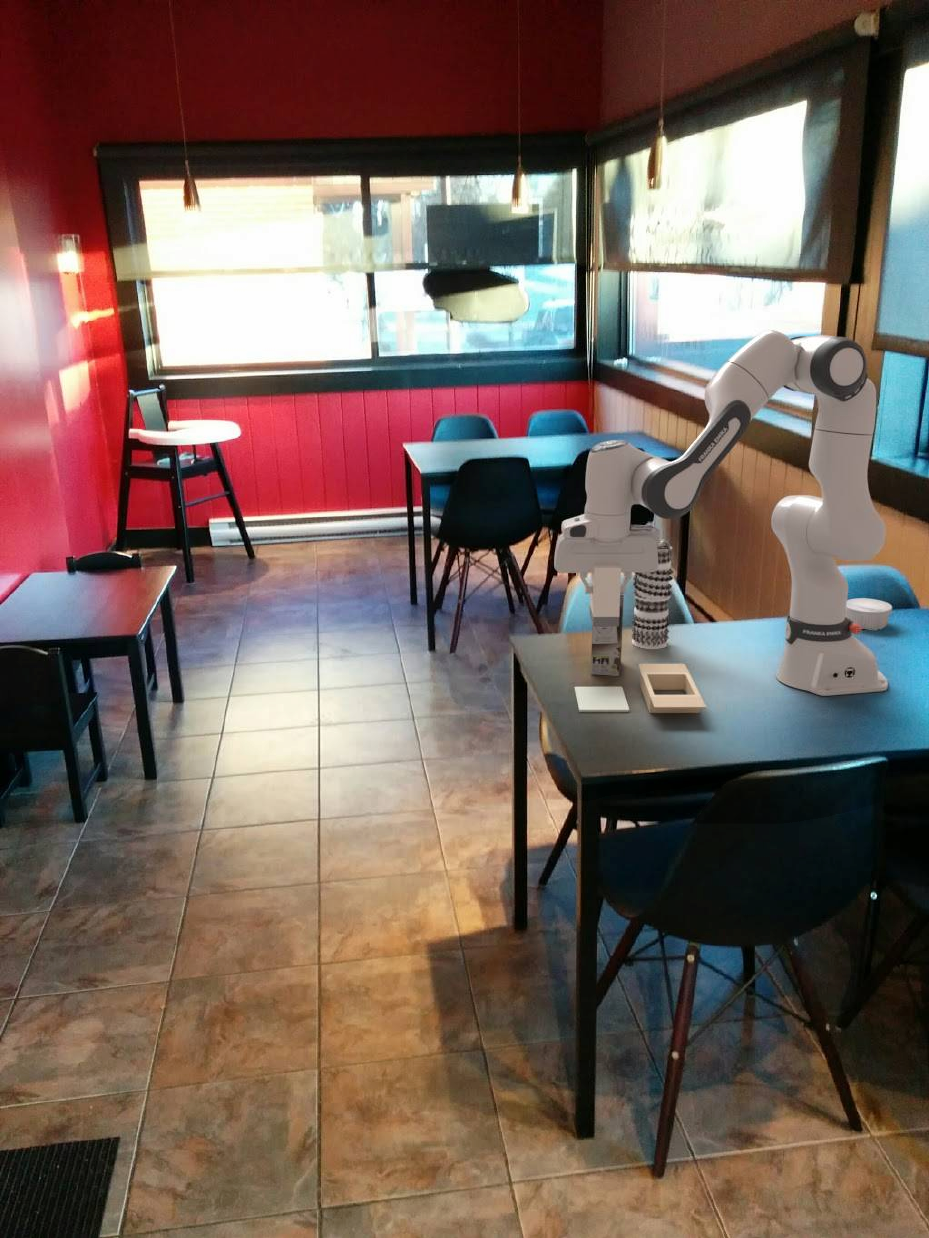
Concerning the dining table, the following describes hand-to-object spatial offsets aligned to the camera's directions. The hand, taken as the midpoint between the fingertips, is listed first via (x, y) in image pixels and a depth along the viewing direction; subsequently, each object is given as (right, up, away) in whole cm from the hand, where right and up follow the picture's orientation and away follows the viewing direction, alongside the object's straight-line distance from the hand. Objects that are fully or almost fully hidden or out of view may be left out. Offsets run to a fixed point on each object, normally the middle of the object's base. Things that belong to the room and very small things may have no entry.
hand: (604, 593), depth 198 cm
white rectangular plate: (0, -22, +7) cm, 23 cm away
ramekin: (+72, -7, +50) cm, 88 cm away
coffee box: (+4, -16, +24) cm, 30 cm away
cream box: (0, -5, +2) cm, 6 cm away
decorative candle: (+16, -11, +39) cm, 44 cm away
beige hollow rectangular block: (+14, -22, +7) cm, 27 cm away
